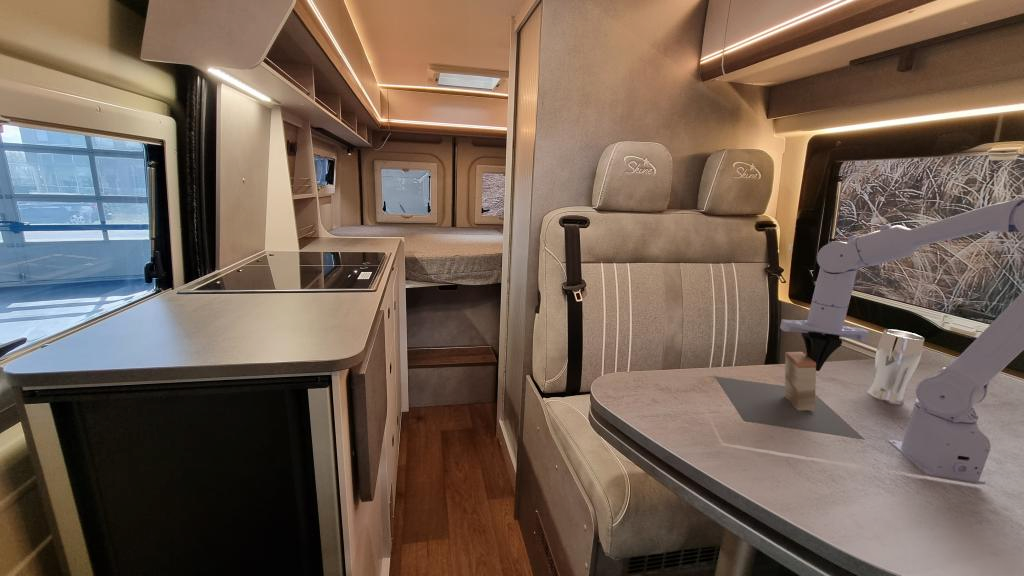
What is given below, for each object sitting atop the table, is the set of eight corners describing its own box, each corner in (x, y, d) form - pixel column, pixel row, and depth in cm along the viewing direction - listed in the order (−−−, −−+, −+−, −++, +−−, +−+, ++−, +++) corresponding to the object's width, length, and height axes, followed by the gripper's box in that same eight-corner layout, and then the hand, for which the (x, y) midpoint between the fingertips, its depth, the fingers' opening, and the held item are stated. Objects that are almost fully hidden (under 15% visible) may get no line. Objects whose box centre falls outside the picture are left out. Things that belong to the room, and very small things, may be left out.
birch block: (814, 410, 83) (816, 362, 81) (797, 410, 83) (798, 363, 82) (800, 396, 89) (801, 351, 87) (785, 396, 89) (785, 352, 87)
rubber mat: (864, 441, 75) (864, 439, 74) (743, 422, 78) (744, 420, 78) (809, 391, 94) (810, 389, 94) (714, 378, 97) (715, 376, 97)
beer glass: (889, 392, 96) (907, 330, 93) (914, 407, 89) (935, 341, 86) (857, 389, 97) (874, 327, 93) (879, 404, 90) (899, 338, 86)
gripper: (859, 303, 84) (842, 366, 87) (780, 294, 86) (766, 356, 89) (882, 312, 77) (863, 380, 80) (795, 303, 79) (780, 369, 83)
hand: (813, 368), depth 84 cm, fingers closed
